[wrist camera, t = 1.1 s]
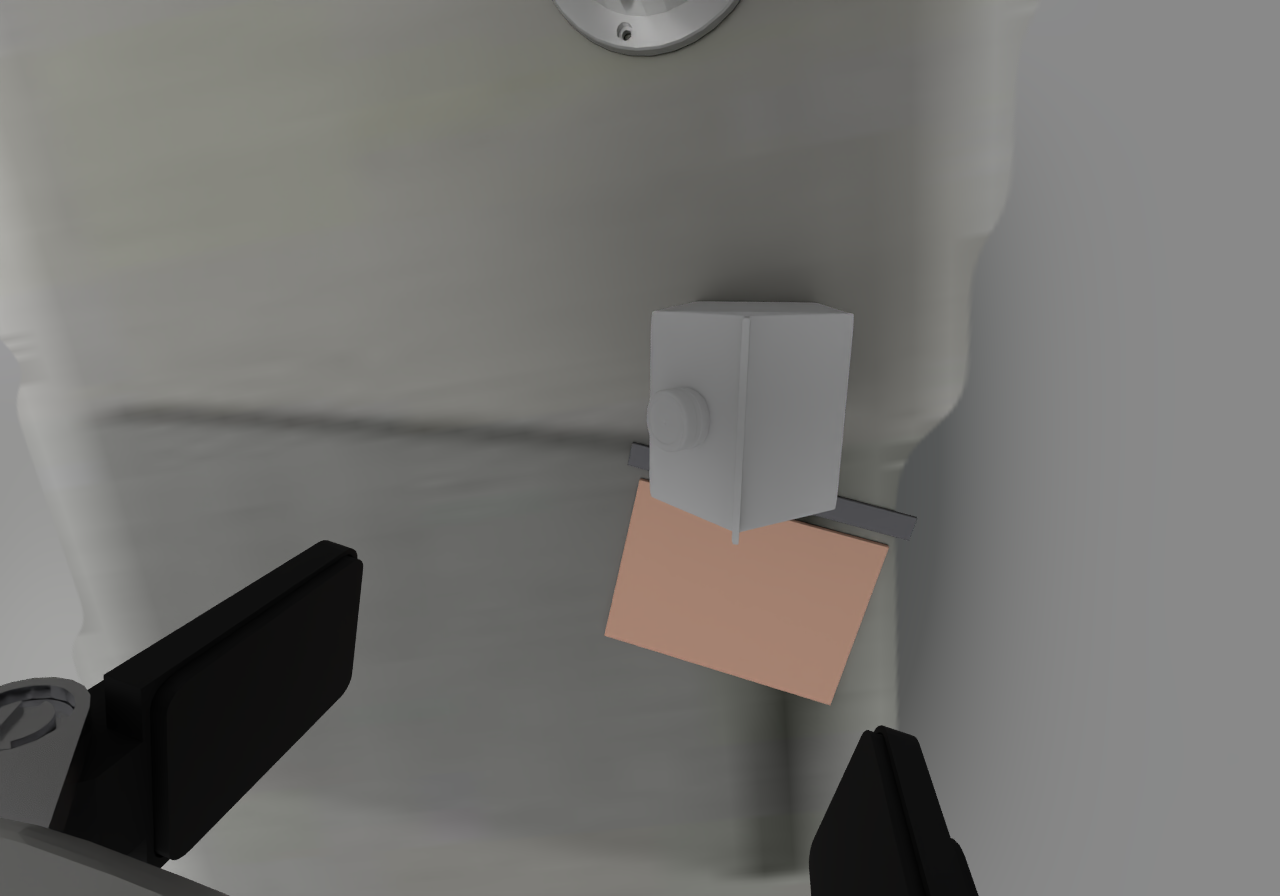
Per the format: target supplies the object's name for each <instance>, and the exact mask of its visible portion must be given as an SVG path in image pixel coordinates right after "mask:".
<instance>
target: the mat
mask: <svg viewBox="0 0 1280 896" xmlns="http://www.w3.org/2000/svg"><path fill="white" fill-rule="evenodd" d="M888 549H889V547H888V545H885V544H882V543H878V542H874V541H871V540H867V539H863V538H860V537H856V536H852V535H848V534H845V533H841V532H837V531H834V530H830V529H826V528H823V527H819V526H815V525H812V524H808V523H804V522H801V521H797V520H788V521H784V522H780V523H776V524H772V525H768V526H764V527H759V528H755V529H751V530H747V531H743V532H739V544H738V545H736V544H733V543H732V531H730V530H728V529H726V528H723V527H721V526H719V525H716V524H714V523H712V522H709V521H707V520H704V519H702V518H700V517H697V516H695V515H693V514H690V513H688V512H686V511H683V510H681V509H679V508H676V507H674V506H672V505H669V504H667V503H665V502H662V501H660V500H658V499H655V498H653V497H651V493H650V480H646V479H642V478H641V479H640V481H639V485H638V490H637V494H636V499H635V503H634V507H633V512H632V516H631V521H630V525H629V529H628V534H627V538H626V543H625V547H624V552H623V556H622V560H621V565H620V569H619V574H618V578H617V582H616V587H615V591H614V596H613V600H612V604H611V609H610V613H609V618H608V622H607V626H606V631H605V635H604V636H608V637H611V638H614V639H617V640H620V641H624V642H627V643H630V644H633V645H637V646H640V647H643V648H646V649H650V650H653V651H656V652H659V653H663V654H666V655H669V656H672V657H676V658H679V659H682V660H685V661H689V662H692V663H695V664H698V665H701V666H705V667H708V668H711V669H714V670H718V671H721V672H724V673H727V674H731V675H734V676H737V677H740V678H744V679H747V680H750V681H753V682H757V683H760V684H763V685H766V686H769V687H773V688H776V689H779V690H782V691H786V692H789V693H792V694H795V695H799V696H802V697H805V698H808V699H812V700H815V701H818V702H821V703H825V704H828V705H831V702H832V699H833V696H834V694H835V691H836V688H837V686H838V683H839V680H840V678H841V675H842V672H843V670H844V667H845V664H846V662H847V659H848V656H849V653H850V651H851V648H852V645H853V643H854V640H855V637H856V635H857V632H858V629H859V627H860V624H861V621H862V619H863V616H864V613H865V610H866V608H867V605H868V602H869V600H870V597H871V594H872V592H873V589H874V586H875V584H876V581H877V578H878V575H879V573H880V570H881V567H882V565H883V562H884V559H885V557H886V554H887V551H888Z"/></svg>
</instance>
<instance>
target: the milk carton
mask: <svg viewBox="0 0 1280 896" xmlns="http://www.w3.org/2000/svg"><path fill="white" fill-rule="evenodd" d="M853 325H854V315H853V313H848V312H845V311H842V310H838V309H835V308H832V307H829V306H826V305H823V304H819V303H816V302H725V301H695V302H691V303H686V304H682V305H678V306H673V307H669V308H664V309H660V310H656V311H653V313H652V318H651V355H650V400H649V403H648V407H647V427H648V431H649V434H650V468H649V477H650V493H651V497H653V498H655V499H658V500H660V501H662V502H665V503H667V504H669V505H672V506H674V507H676V508H679V509H681V510H683V511H686V512H688V513H690V514H693V515H695V516H697V517H700V518H702V519H704V520H707V521H709V522H712V523H714V524H716V525H719V526H721V527H723V528H726V529H728V530H730V531H732V543H733V544H736V545H738V544H739V532H743V531H747V530H751V529H755V528H759V527H764V526H768V525H772V524H776V523H780V522H784V521H788V520H793V519H797V518H801V517H805V516H809V515H813V514H817V513H822V512H826V511H830V510H834V509H835V507H836V502H837V494H838V484H839V474H840V463H841V453H842V442H843V432H844V421H845V411H846V400H847V390H848V379H849V369H850V358H851V348H852V337H853Z"/></svg>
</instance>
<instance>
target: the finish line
mask: <svg viewBox="0 0 1280 896" xmlns="http://www.w3.org/2000/svg"><path fill="white" fill-rule="evenodd" d="M628 465H630V466H634V467H637V468H641V469H645V470H648V471H649V468H650V446H646V445H642V444H638V443H635V442H633V443H632V447H631V452H630V457H629V461H628ZM813 515H815V516H819V517H823V518H827V519H830V520H834V521H838V522H841V523H845V524H849V525H853V526H856V527H860V528H864V529H867V530H871V531H875V532H879V533H882V534H886V535H890V536H893V537H897V538H901V539H904V540H910V537H911V534H912V531H913V529H914V526H915V524H916V521H917V517H914V516H911V515H907V514H903V513H900V512H896V511H892V510H888V509H885V508H881V507H877V506H873V505H869V504H866V503H862V502H858V501H854V500H850V499H847V498H843V497H839V496H837V502H836V507H835V509H834V510H830V511H826V512H822V513H817V514H813Z"/></svg>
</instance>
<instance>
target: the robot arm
mask: <svg viewBox="0 0 1280 896" xmlns="http://www.w3.org/2000/svg"><path fill="white" fill-rule="evenodd" d="M552 1H553V2H554V3H555V5H556V6H557V8H558V9H559V11H560V12H561V13H562V15H563V16H564V17H565V18H566V19H567V20H568V22H569V23H570V24H571V25H572V26H573V28H575V29H576V30H577V31H578V32H580V33H581V34H582V35H583V36H585V37H586V38H587V39H589V40H590V41H591V42H593V43H595V44H597V45H599V46H601V47H604V48H606V49H608V50H610V51H614V52H618V53H622V54H626V55H634V56H653V55H657V54H662V53H667V52H672V51H675V50H677V49H680V48H682V47H684V46H686V45H689V44H691V43H693V42H695V41H697V40H698V39H700V38H701V37H702V36H704V35H705V34H707V33H708V32H710V31H711V30H713V29H714V28H715V27H716V26H717V25H718V24H719V23H720V22H721V21H722V20H723V19H724V18H725V17H726V16H727V15H728V14H729V13H730V12H731V11H732V10H733V9H734V8H735V6H736V5H737V4H738V2H739V1H740V0H552ZM627 33H630V34H632V36H631V38H630V39H628V40H627V41H624V36H625V35H626V34H627ZM362 574H363V563H362V561H361V560H359V559H357V553H356V551H355V550H354V549H352V548H349V547H346V546H343V545H340V544H337V543H334V542H331V541H328V540H323V541H321V542H318V543H317V544H315V545H313V546H312V547H310V548H309V549H307V550H305V551H304V552H302V553H300V554H299V555H297V556H296V557H294V558H292V559H291V560H289V561H287V562H286V563H284V564H283V565H281V566H279V567H278V568H276V569H275V570H273V571H271V572H270V573H268V574H266V575H265V576H263V577H262V578H260V579H258V580H257V581H255V582H253V583H252V584H250V585H249V586H247V587H245V588H244V589H242V590H241V591H239V592H237V593H236V594H234V595H232V596H231V597H229V598H228V599H226V600H224V601H223V602H221V603H219V604H218V605H216V606H215V607H213V608H211V609H210V610H208V611H207V612H205V613H203V614H202V615H200V616H198V617H197V618H195V619H194V620H192V621H190V622H189V623H187V624H185V625H184V626H182V627H181V628H179V629H177V630H176V631H174V632H172V633H171V634H169V635H168V636H166V637H164V638H163V639H161V640H160V641H158V642H156V643H155V644H153V645H151V646H150V647H148V648H147V649H145V650H143V651H142V652H140V653H138V654H137V655H135V656H134V657H132V658H130V659H129V660H127V661H126V662H124V663H122V664H121V665H119V666H117V667H116V668H114V669H113V670H111V671H109V672H108V673H106V674H104V680H103V681H101V682H100V683H98V684H96V685H95V686H93V687H92V688H90V689H88V690H87V689H86V688H85V686H83V685H81V684H79V683H77V682H75V681H73V680H70V679H63V678H57V677H49V678H32V679H26V680H21V681H17V682H11V683H8V684H5V685H2V686H0V896H229V895H226V894H224V893H222V892H219V891H217V890H214V889H212V888H209V887H207V886H204V885H202V884H199V883H197V882H194V881H192V880H189V879H187V878H184V877H182V876H179V875H177V874H174V873H171V872H169V871H166V870H163V869H161V867H162V866H163V865H164V864H165V863H166V862H167V861H168V860H169V859H171V860H177V859H179V858H181V857H183V856H184V855H185V854H186V853H187V852H189V851H190V850H191V849H192V848H193V847H194V846H195V845H196V844H197V843H198V841H199V840H200V839H201V838H202V837H203V836H204V835H205V834H206V833H207V832H208V831H209V830H210V829H211V828H212V827H213V826H214V825H215V824H216V823H217V822H218V821H219V820H220V819H221V818H222V817H223V816H224V815H225V814H226V813H227V812H228V811H229V810H230V809H231V808H232V807H233V806H234V805H235V804H236V803H237V802H238V801H239V800H240V799H241V798H242V797H243V796H244V795H245V794H246V793H247V792H248V791H249V790H250V789H251V788H252V787H253V786H254V785H255V784H256V783H257V781H258V780H259V779H260V778H261V777H262V776H263V775H264V774H265V773H266V772H267V771H268V770H269V769H270V768H271V767H272V766H273V765H274V764H275V763H276V762H277V761H278V760H279V759H280V758H281V757H282V756H283V755H284V754H285V753H286V752H287V751H288V750H289V749H290V748H291V747H292V746H293V745H294V744H295V743H296V742H297V741H298V740H299V739H300V738H301V737H302V736H303V735H304V734H305V733H306V732H307V731H308V730H309V729H310V728H311V727H312V726H313V725H314V724H315V722H316V721H317V720H318V719H319V718H320V717H321V716H322V715H323V714H324V713H325V712H326V711H327V710H328V709H329V708H330V707H331V706H332V705H333V704H334V703H335V702H336V701H337V700H338V699H339V698H340V697H341V696H342V695H343V693H344V692H345V690H346V689H347V687H348V685H349V683H350V680H351V677H352V669H353V660H354V650H355V641H356V631H357V621H358V612H359V602H360V593H361V583H362ZM809 872H810V885H811V896H978V893H977V890H976V888H975V884H974V881H973V878H972V876H971V873H970V870H969V867H968V864H967V861H966V858H965V856H964V853H963V851H962V849H961V847H960V845H959V844H958V843H957V842H956V841H955V840H954V839H952V838H950V835H949V832H948V829H947V826H946V823H945V820H944V817H943V814H942V811H941V808H940V805H939V802H938V799H937V796H936V793H935V789H934V787H933V783H932V780H931V777H930V774H929V771H928V768H927V765H926V762H925V759H924V756H923V753H922V750H921V748H920V744H919V742H918V740H917V739H916V737H914V736H912V735H909V734H906V733H903V732H900V731H897V730H894V729H891V728H888V727H885V726H882V725H881V726H878V727H877V728H876V729H875V731H874V732H872V731H869V730H866V731H865V732H863V734H862V736H861V738H860V740H859V742H858V744H857V747H856V749H855V751H854V753H853V755H852V757H851V760H850V762H849V764H848V766H847V768H846V770H845V773H844V775H843V777H842V779H841V781H840V783H839V786H838V788H837V790H836V792H835V794H834V796H833V799H832V801H831V803H830V805H829V807H828V809H827V812H826V814H825V816H824V818H823V820H822V822H821V825H820V827H819V829H818V831H817V833H816V835H815V838H814V840H813V842H812V845H811V850H810V856H809Z"/></svg>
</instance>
